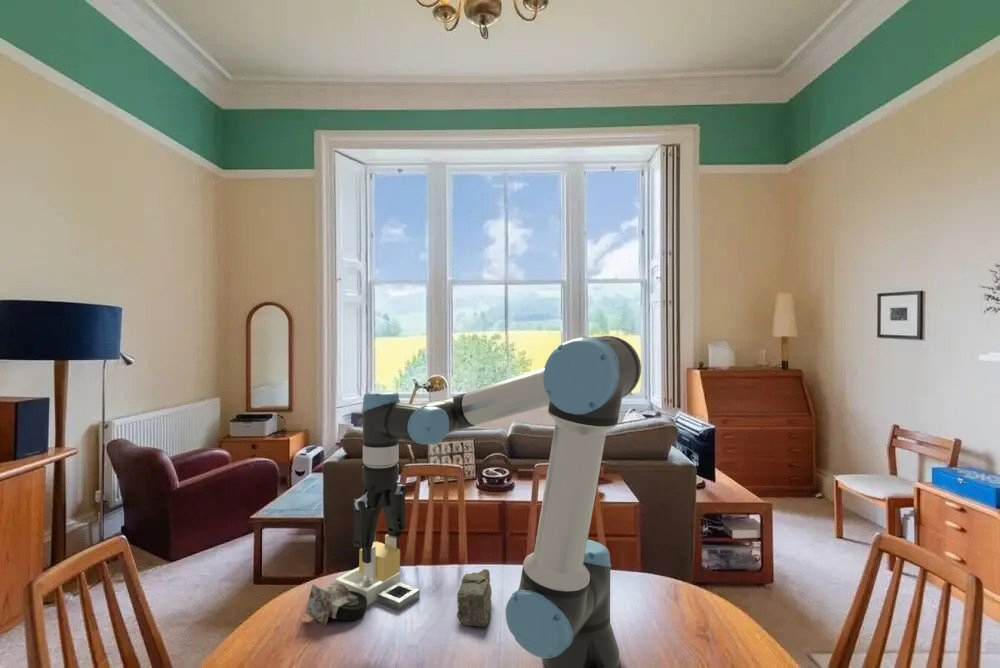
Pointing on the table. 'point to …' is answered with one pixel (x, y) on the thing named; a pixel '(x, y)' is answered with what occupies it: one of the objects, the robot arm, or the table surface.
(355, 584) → the tray
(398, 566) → the block
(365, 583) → the pin
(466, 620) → the rock
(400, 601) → the pin socket
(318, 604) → the caster wheel
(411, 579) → the table surface
